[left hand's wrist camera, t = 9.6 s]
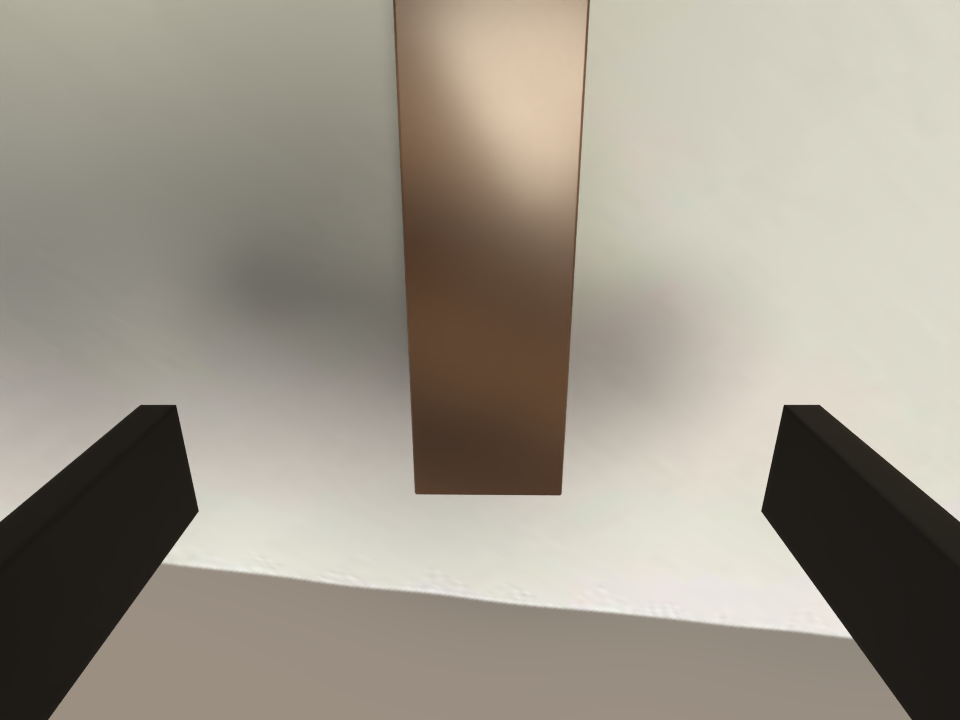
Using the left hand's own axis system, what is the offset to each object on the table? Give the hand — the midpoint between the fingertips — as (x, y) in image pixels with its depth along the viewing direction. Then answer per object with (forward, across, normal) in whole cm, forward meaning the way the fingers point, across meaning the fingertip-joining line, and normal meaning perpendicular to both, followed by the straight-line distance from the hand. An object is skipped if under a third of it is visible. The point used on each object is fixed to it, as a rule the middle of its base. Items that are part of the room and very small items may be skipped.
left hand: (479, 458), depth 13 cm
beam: (+14, 0, -25) cm, 29 cm away
